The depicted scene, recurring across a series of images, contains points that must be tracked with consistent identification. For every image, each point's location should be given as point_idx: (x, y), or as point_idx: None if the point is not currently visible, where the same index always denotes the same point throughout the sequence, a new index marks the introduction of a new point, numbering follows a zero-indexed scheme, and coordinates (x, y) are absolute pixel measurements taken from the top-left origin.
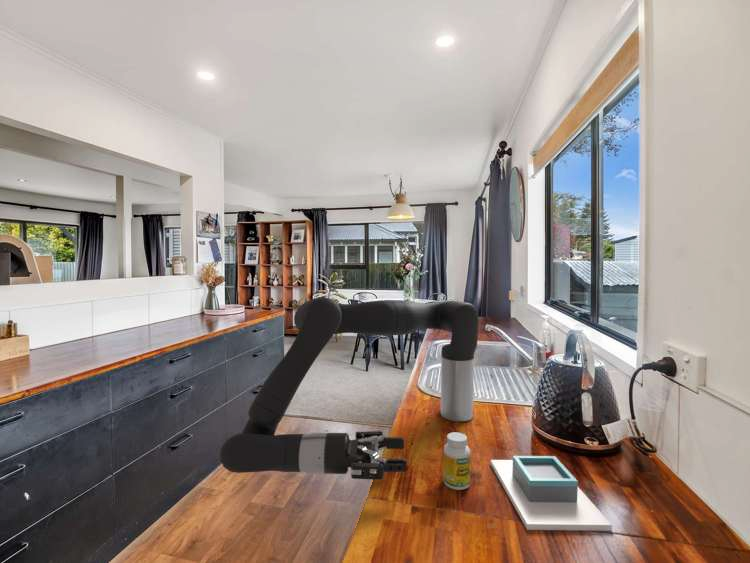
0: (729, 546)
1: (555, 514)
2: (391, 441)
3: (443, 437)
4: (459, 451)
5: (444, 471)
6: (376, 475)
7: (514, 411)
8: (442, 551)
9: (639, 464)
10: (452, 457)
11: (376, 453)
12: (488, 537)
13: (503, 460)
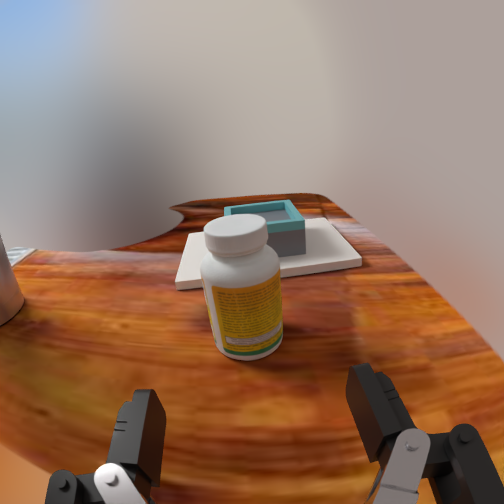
0: (314, 195)
1: (325, 240)
2: (148, 446)
3: (50, 344)
4: (268, 248)
5: (257, 333)
6: (450, 475)
7: (40, 257)
8: (475, 340)
9: (197, 205)
10: (276, 271)
11: (386, 488)
12: (404, 297)
13: (180, 269)
